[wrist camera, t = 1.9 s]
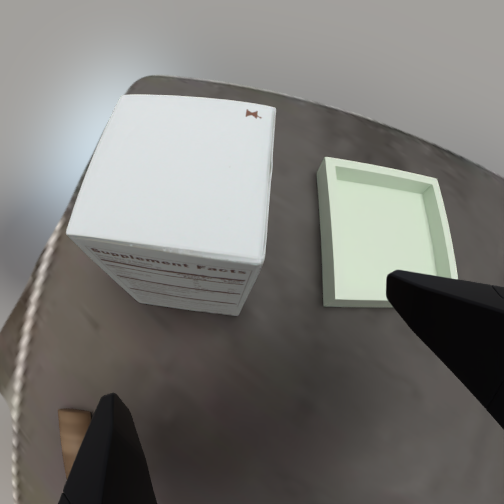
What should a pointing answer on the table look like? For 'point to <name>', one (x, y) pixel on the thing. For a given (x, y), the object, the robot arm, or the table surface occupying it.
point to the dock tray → (378, 230)
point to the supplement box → (179, 200)
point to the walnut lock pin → (72, 433)
